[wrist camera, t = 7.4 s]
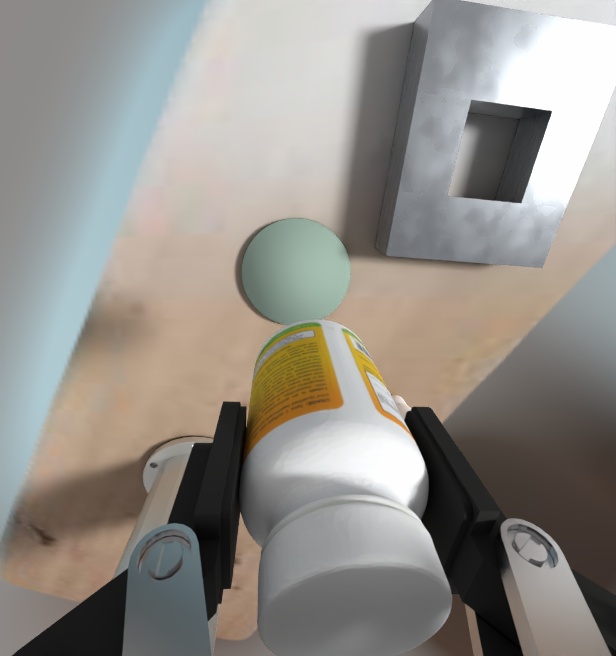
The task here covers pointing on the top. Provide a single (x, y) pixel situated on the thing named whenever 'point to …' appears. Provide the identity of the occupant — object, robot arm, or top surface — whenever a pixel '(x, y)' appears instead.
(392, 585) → the supplement bottle
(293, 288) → the pad
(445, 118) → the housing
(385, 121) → the top surface
